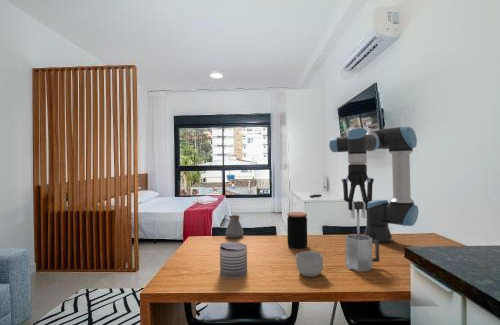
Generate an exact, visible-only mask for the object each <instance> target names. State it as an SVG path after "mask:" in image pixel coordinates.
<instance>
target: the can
mask: <svg viewBox="0 0 500 325" xmlns="http://www.w3.org/2000/svg"><path fill="white" fill-rule="evenodd" d="M219 271H220V273H219V274H220V276H221V277H222V278H226V279H240V278H243V277H245V276H246V275H247V273H248V245H247V244H244V243H241V242H236V241H235V242H233V241H227V242H221V243H220V244H219Z"/></svg>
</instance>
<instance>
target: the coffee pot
mask: <svg viewBox="0 0 500 325" xmlns="http://www.w3.org/2000/svg"><path fill="white" fill-rule="evenodd" d="M228 218H229V219H230V220H229V222H228V225H227V227H226V230H225V235H226V236H227V237H228V238H230V239H238V238H242V236H243V235H244V232H245V231H244V229H243V226H242V224H241V222H240V215H235V214H233V215H229V216H228Z"/></svg>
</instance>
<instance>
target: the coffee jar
mask: <svg viewBox="0 0 500 325" xmlns="http://www.w3.org/2000/svg"><path fill="white" fill-rule="evenodd" d="M286 215H287V218H286V222H287V224H286V225H287V226H286V227H287V245H288V247H289V248H291V249H292V250H293V249H295V250H304V249H305V248H307V247H308V217H307V215H308V213H307V212H301V211H291V212H288V213H287V214H286Z"/></svg>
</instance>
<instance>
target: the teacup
mask: <svg viewBox="0 0 500 325" xmlns="http://www.w3.org/2000/svg"><path fill="white" fill-rule="evenodd" d="M295 257H296V258H295V259H296V260H295V261H296V268H297V271H298V272H299V273H300V274H301V275H302V276H304V277H307V278H310V277H311V278H315V277H317V276H319V275H320V274H321V273H322V272H323V269H324V258H323V254H322V253H320V252H317V251H314V250H310V251H309V250H307V251H300V252H297V253H296V254H295Z"/></svg>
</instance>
